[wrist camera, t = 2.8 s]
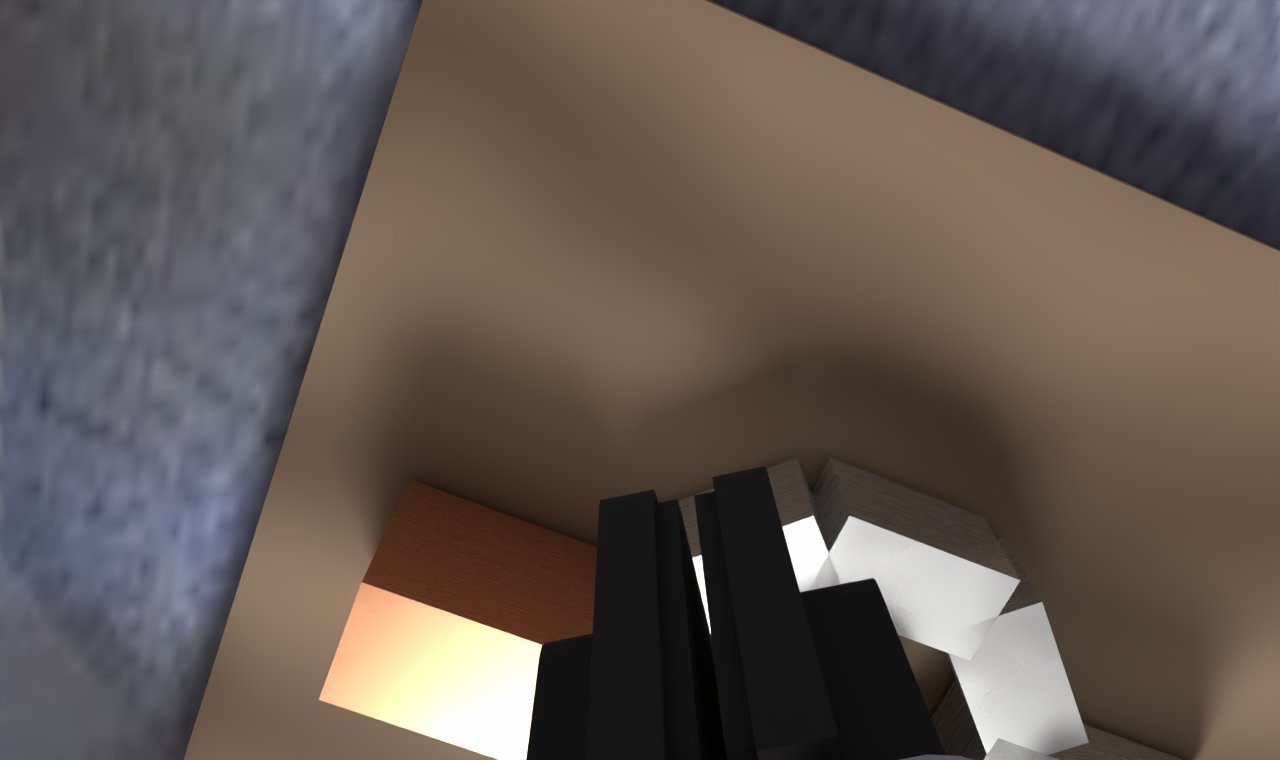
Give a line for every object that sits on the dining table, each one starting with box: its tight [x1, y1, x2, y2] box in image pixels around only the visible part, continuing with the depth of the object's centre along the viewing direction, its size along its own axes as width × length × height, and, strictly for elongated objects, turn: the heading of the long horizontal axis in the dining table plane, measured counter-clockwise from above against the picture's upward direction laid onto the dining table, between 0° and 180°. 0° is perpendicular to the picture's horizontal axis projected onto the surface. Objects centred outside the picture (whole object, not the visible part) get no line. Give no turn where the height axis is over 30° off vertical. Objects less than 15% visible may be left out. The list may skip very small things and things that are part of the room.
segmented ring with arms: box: [319, 457, 1182, 760], centre depth 18 cm, size 16×8×3 cm, turn 68°
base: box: [184, 0, 1280, 760], centre depth 19 cm, size 20×20×6 cm
